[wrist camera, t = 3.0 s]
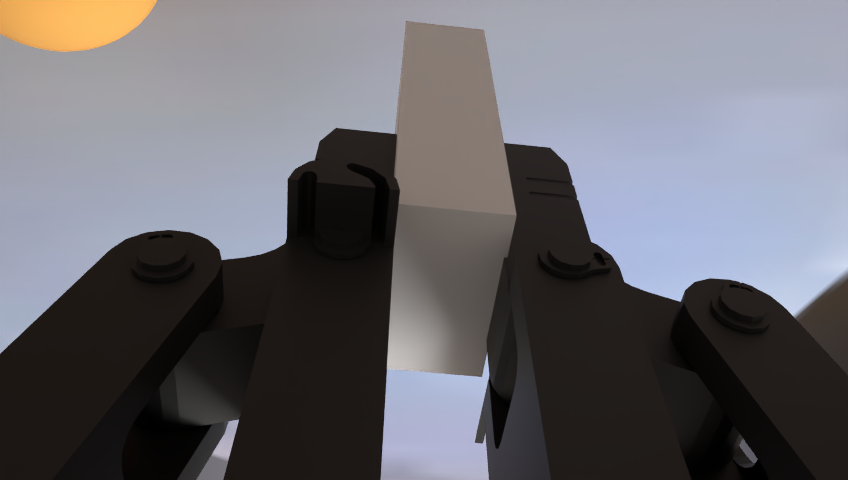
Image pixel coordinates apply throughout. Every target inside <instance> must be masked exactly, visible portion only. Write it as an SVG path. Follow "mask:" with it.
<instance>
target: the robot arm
mask: <svg viewBox="0 0 848 480" xmlns="http://www.w3.org/2000/svg"><path fill="white" fill-rule="evenodd" d="M487 353H488V364H489V380H488V384H487V389H486V393H485V398H484V402H483V407H482V411H481V416H480V420H479V425H478V429H477V434H476V439H475V443H483V440H484V436H485V432H486V446H487V459H488V472H489V480H848V375H847V374H846V373H845V372H844V371H843V370H842V368H841V367H840V366H839V365H838V364H837V363H836V362H835V361H834V360H833V359H832V358H831V357H830V356H829V354H828V353H827V352H826V351H825V350H824V349H823V348H822V347H821V346H820V345H819V344H818V343H817V342H816V341H815V339H814V338H813V337H812V336H811V335H810V334H809V333H808V332H807V331H806V330H805V329H804V328H803V327H802V326H801V324H799V322H798V321H797V320H796V319H795V318H794V317H793V316H792V315H791V314H790V313H789V312H788V310H787V309H786V308H784V307H783V306H782V305H781V304H780V303H778V302H777V301H776V300H775V299H773V298H772V297H771V296H769V295H767V294H766V293H764V292H762V291H760V290H758V289H756V288H754V287H753V286H750V285H747V284H744V283H739V282H737V281H732V280H725V279H706V280H702V281H697V282H694V283H693V284H692V285H691V286H690V287H689V288H687V289H686V290H685V292H684V295H683V298H682V300H681V302H679V301H675V300H672V299H669V298H665V297H662V296H659V295H655V294H652V293H649V292H646V291H643V290H640V289H638V288H635V287H632V286H630V285H629V284H627V283H625V282H624V280H623V277H622V274H621V271H620V268H619V266H618V265H617V263H616V262H615V260H614V259H613V257H612V256H611V255H610V254H609V253H608V252H606V251H605V250H604V249H602V248H601V247H600V246H598V245H597V244H594V243H592V242H591V240H590V237H589V234H588V231H587V227H586V224H585V221H584V218H583V214H582V211H581V208H580V205H579V201H578V200H577V195H576V192H575V188H574V185H572V179H571V175H570V172H569V169H568V166H567V164H566V163H565V162H564V161H563V160H562V159H561V158H560V157H559V156H558V155H557V154H556V153H555V152H554V151H553V150H552V149H551V148H547V147H537V146H527V145H518V144H508V143H504V141H503V135H502V130H501V124H500V118H499V113H498V107H497V101H496V96H495V90H494V84H493V79H492V73H491V67H490V61H489V56H488V50H487V44H486V39H485V33H484V30H481V29H472V28H463V27H454V26H445V25H436V24H427V23H418V22H409V21H406V28H405V38H404V48H403V58H402V68H401V78H400V87H399V97H398V107H397V117H396V127H395V134H389V133H379V132H369V131H360V130H350V129H340V128H336V129H334V130H333V131H332V132H331V133H330V134H328V135H327V136H326V137H325V138H323V139H322V140H321V141H320V142H319V146H318V150H317V154H316V158H315V161H310V162H308V163H306V164H304V165H302V166H300V167H298V168H296V169H295V170H294V171H293V173H292V174H291V176H290V177H289V178H288V204H287V239H286V243H285V244H284V245H282V246H280V247H279V248H277V249H275V250H272V251H270V252H267V253H264V254H261V255H256V256H251V257H245V258H237V259H228V260H221V256H220V251H219V249H218V248H217V247H216V246H214V245H213V244H212V243H211V242H210V241H209V240H208V239H206V238H203V237H201V236H198V235H195V234H193V233H190V232H181V231H173V230H166V231H155V232H146V233H143V234H140V235H137V236H134V237H131V238H128V239H126V240H124V241H123V242H121V243H120V244H118V245H117V246H115V247H114V248H112V249H110V250H109V251H108V252H107V253H106V254H105V255H104V256H103V257H102V258H101V259H100V260H99V261H98V262H97V263H96V264H95V265H94V266H92V267H91V268H90V269H89V270H88V271H87V272H86V273H85V274H84V275H83V276H82V277H81V278H80V279H79V280H78V281H77V282H76V283H75V284H73V285H72V286H71V287H70V288H69V289H68V290H67V291H66V292H65V293H64V294H63V295H62V296H61V297H60V298H59V299H58V300H57V301H56V302H54V303H53V304H52V305H51V306H50V307H49V308H48V309H47V310H46V311H45V312H44V313H43V314H42V315H41V316H40V317H39V318H38V319H37V320H35V321H34V322H33V323H32V324H31V325H30V326H29V327H28V328H27V329H26V330H25V331H24V332H23V333H22V334H21V335H20V336H19V337H18V338H17V339H15V340H14V341H13V342H12V343H11V344H10V345H9V346H8V347H7V348H6V349H5V350H4V351H3V352H2V353H1V354H0V480H196V479H197V477H198V476H199V474H200V473H201V471H202V469H203V468H204V466H205V464H206V463H207V461H208V459H209V458H210V456H211V455H212V453H213V451H214V450H215V448H216V446H217V445H218V443H219V441H220V440H221V438H222V437H223V435H224V433H225V430H226V427H227V424H228V421H232V420H238V419H239V422H238V426H237V430H236V434H235V438H234V442H233V445H232V449H231V453H230V457H229V461H228V465H227V469H226V473H225V476H224V480H380V478H381V461H382V443H383V426H384V409H385V392H386V375H387V369H396V370H408V371H419V372H431V373H443V374H455V375H467V376H479V377H482V374H483V369H484V364H485V360H486V355H487ZM742 439H744V440H745V442H746V443H747V444H748V446H749V447H750V448H751V450H752V451H753V452H754V454H755V456H756V457H757V458H758V460H757V462H756V463H755V464H754V463H752V461H750V460H749V458H748V457H747V456H746V455H745V453H744V452H743V451H742V449H741V448H740V446H739V444H740V442H741V441H742Z"/></svg>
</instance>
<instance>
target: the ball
mask: <svg viewBox="0 0 848 480" xmlns="http://www.w3.org/2000/svg"><path fill="white" fill-rule="evenodd" d="M156 2H157V0H0V34H2V35H4V36H6V37H8V38H10V39H12V40H14V41H17V42H19V43H22V44H25V45H28V46H32V47H36V48H40V49H46V50H52V51H67V52H68V51H80V50H88V49H93V48H97V47H100V46H103V45H106V44H108V43H111V42H113V41H116V40H117V39H119V38H121V37H123V36H125V35H126V34H128V33H129V32H130V31H131V30H133V29H134V28H135V27H136V26H138V25H139V24H140V23H141V22H142V21H143V20H144V19H145V17H146V16H147V15H148V14H149V13H150V11H151V10H152V8H153V6H154V5H155V3H156Z"/></svg>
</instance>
